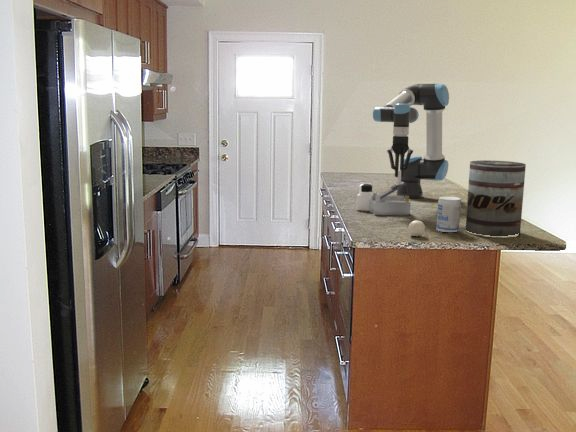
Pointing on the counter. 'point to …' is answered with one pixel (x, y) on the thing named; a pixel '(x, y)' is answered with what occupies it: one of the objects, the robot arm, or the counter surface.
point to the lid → (392, 190)
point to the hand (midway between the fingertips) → (398, 183)
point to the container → (364, 197)
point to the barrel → (495, 197)
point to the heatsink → (389, 205)
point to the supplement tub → (448, 214)
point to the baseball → (416, 228)
